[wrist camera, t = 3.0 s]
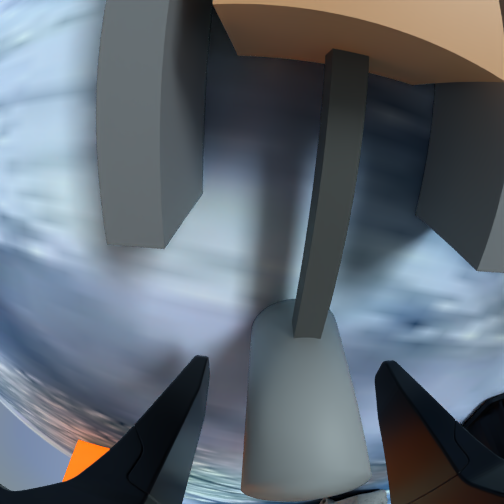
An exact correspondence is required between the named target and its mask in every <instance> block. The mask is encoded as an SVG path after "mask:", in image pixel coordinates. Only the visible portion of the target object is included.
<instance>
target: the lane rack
mask: <svg viewBox="0 0 504 504" xmlns="http://www.w3.org/2000/svg"><path fill="white" fill-rule="evenodd" d="M212 4H213V0H106V6H105V11H104V18H103V24H102V32H101V40H100V49H99V60H98V74H97V96H96V136H97V159H98V174H99V186H100V196H101V205H102V213H103V220H104V228H105V234H106V241H107V245H120V246H133V247H146V248H159V249H165V247H166V246H167V244H168V243H169V241H170V240H171V238H172V237H173V235H174V234H175V232H176V231H177V229H178V228H179V227H180V225H181V224H182V222H183V221H184V219H185V218H186V216H187V215H188V214H189V212H190V211H191V209H192V208H193V206H194V205H195V204H196V202H197V201H198V199H199V198H200V197H201V195H202V193H203V139H204V112H205V92H206V75H207V60H208V47H209V35H210V24H211V14H212ZM499 4H500V10H501V16H502V23H503V31H504V0H499ZM415 215H416V216H417V217H418V218H419V219H421V220H422V221H423V222H424V223H425V224H427V225H428V226H429V227H430V228H431V229H432V230H434V231H435V232H436V233H437V234H438V235H439V236H440V237H441V238H443V239H444V240H445V241H446V242H447V243H448V244H449V245H450V246H451V247H452V248H454V249H455V250H456V251H457V252H458V253H459V254H460V255H461V256H462V257H463V258H464V259H465V260H466V261H467V262H468V263H469V264H470V265H471V266H472V267H473V268H474V269H475V270H476V271H484V272H499V273H504V82H448V83H435V93H434V106H433V116H432V125H431V133H430V140H429V147H428V154H427V160H426V165H425V171H424V176H423V181H422V186H421V191H420V196H419V200H418V204H417V209H416V213H415Z"/></svg>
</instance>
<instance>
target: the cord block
mask: <svg viewBox="0 0 504 504" xmlns="http://www.w3.org/2000/svg"><path fill="white" fill-rule="evenodd" d="M213 6H214V8H215V10H216V12H217V14H218V16H219V18H220V20H221V22H222V24H223V26H224V28H225V30H226V32H227V34H228V36H229V38H230V40H231V42H232V44H233V47H234V49H235V51H236V53H237V55H238V56H254V57H270V58H282V59H292V60H300V61H308V62H315V63H322V64H325V69H324V83H323V96H322V108H321V119H320V130H319V139H318V149H317V158H316V167H315V175H314V183H313V191H312V199H311V206H310V213H309V220H308V227H307V234H306V241H305V247H304V253H303V260H302V266H301V272H300V278H299V284H298V289H297V295H296V299H289V300H284V301H281V302H278V303H275V304H273V305H271V306H269V307H267V308H266V309H265V310H263V311H262V312H261V313H260V314H259V315H258V316H257V318H256V319H255V321H254V323H253V325H252V330H251V344H250V360H249V376H248V391H247V407H246V422H245V437H244V451H243V466H242V481H241V491H242V492H243V493H244V494H246V495H248V496H250V497H253V498H257V499H262V500H269V501H306V500H315V499H321V498H326V497H331V496H335V495H339V494H342V493H345V492H348V491H351V490H353V489H356V488H358V487H360V486H362V485H363V484H365V483H366V482H368V481H369V480H370V479H371V477H372V473H371V468H370V462H369V457H368V452H367V447H366V442H365V437H364V432H363V427H362V423H361V418H360V414H359V409H358V405H357V400H356V396H355V392H354V388H353V384H352V380H351V376H350V372H349V368H348V364H347V360H346V356H345V352H344V349H343V345H342V341H341V338H340V334H339V330H338V327H337V323H336V320H335V317H334V315H333V314H332V312H331V311H330V310H329V307H330V303H331V300H332V296H333V292H334V288H335V284H336V280H337V275H338V271H339V267H340V263H341V258H342V254H343V249H344V244H345V240H346V235H347V230H348V225H349V220H350V215H351V209H352V204H353V198H354V192H355V186H356V180H357V174H358V167H359V160H360V153H361V145H362V137H363V129H364V120H365V110H366V99H367V87H368V73H371V74H375V75H379V76H383V77H387V78H390V79H394V80H397V81H400V82H404V83H407V84H410V85H420V84H432V83H448V82H504V31H503V23H502V16H501V10H500V4H499V0H213Z"/></svg>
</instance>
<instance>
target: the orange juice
mask: <svg viewBox="0 0 504 504" xmlns="http://www.w3.org/2000/svg"><path fill="white" fill-rule="evenodd" d="M108 450H110V449H109V448H105V447H102V446H98V445H94V444H91V443H88V442H84V441H81V440H78V442H77V444H76V447H75V449H74V452H73V455H72V457H71V460H70V462H69V465H68V468H67V470H66V473H65V476H64V479H63V482H64V481H67V480H69V479H71V478H74V477H75V476H77V475H78V474H80V473H81V472H82V471H84V470H85V469H86V468H88V467H89V466H90V465H91V464H93V463H94V462H95V461H96V460H98V459H99V458H100V457H101V456H103V455H104V454H105V453H106V452H107V451H108Z"/></svg>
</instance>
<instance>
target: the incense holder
mask: <svg viewBox="0 0 504 504" xmlns="http://www.w3.org/2000/svg"><path fill="white" fill-rule="evenodd" d="M387 501H388V500H387V495H386V491H385V490H383V489H381V490H376V491H373V492H370V493H365V494H359V495H356V496H353V497H349V498H346V499H344V500H340V501H333V500H332V499H330V498H324V499H322V501H321V502H320V504H387Z"/></svg>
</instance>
